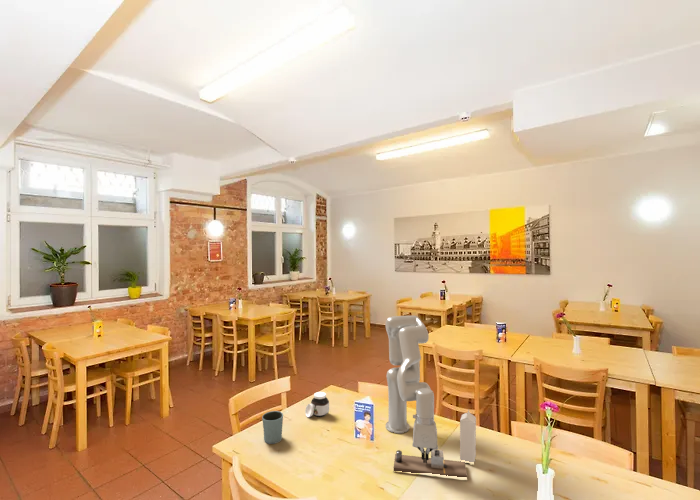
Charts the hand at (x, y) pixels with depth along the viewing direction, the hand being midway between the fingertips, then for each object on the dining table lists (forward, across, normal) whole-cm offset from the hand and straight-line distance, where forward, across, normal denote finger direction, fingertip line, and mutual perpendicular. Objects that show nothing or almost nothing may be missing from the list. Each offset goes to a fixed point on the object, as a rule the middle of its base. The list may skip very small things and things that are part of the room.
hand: (425, 461), depth 154 cm
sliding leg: (+1, +5, 0) cm, 5 cm away
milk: (+4, +19, +10) cm, 22 cm away
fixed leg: (+1, -11, 0) cm, 11 cm away
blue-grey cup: (+4, -74, +8) cm, 75 cm away
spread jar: (+4, -60, +38) cm, 71 cm away
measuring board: (+3, +2, 0) cm, 4 cm away
